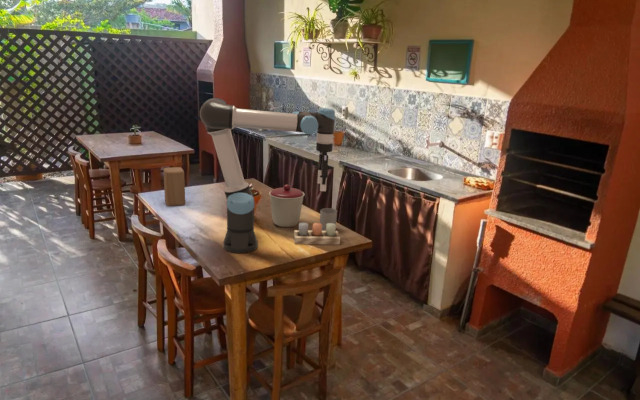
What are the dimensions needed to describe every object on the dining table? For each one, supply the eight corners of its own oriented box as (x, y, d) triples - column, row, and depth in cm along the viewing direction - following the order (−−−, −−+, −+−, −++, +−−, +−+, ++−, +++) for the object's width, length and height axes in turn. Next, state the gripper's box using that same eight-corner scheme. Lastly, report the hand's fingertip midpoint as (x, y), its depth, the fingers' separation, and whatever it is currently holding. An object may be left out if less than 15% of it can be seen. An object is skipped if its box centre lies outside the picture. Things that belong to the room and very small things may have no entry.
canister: (261, 225, 229) (261, 185, 223) (280, 215, 245) (281, 178, 239) (291, 232, 221) (293, 191, 215) (309, 222, 237) (311, 183, 231)
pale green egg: (326, 236, 211) (327, 226, 210) (325, 232, 215) (325, 222, 214) (335, 236, 212) (336, 226, 210) (334, 232, 216) (335, 223, 214)
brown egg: (312, 235, 210) (313, 225, 209) (311, 232, 215) (312, 222, 213) (321, 236, 211) (322, 226, 209) (321, 232, 215) (321, 222, 214)
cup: (317, 227, 231) (318, 208, 228) (331, 225, 234) (333, 207, 231) (323, 232, 223) (324, 213, 221) (338, 231, 226) (339, 212, 223)
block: (164, 201, 258) (163, 167, 252) (182, 200, 262) (181, 166, 256) (167, 206, 249) (165, 171, 244) (185, 205, 254) (184, 170, 248)
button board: (294, 243, 208) (295, 237, 207) (293, 236, 217) (294, 230, 216) (339, 244, 210) (340, 238, 209) (337, 236, 219) (337, 230, 219)
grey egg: (298, 235, 210) (299, 225, 208) (298, 232, 214) (298, 222, 212) (308, 235, 210) (308, 225, 209) (307, 232, 214) (307, 222, 213)
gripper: (336, 147, 196) (332, 194, 202) (329, 138, 219) (326, 180, 225) (319, 146, 195) (315, 194, 201) (314, 137, 219) (311, 180, 225)
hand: (321, 187), depth 213 cm, fingers open, 13 cm apart
